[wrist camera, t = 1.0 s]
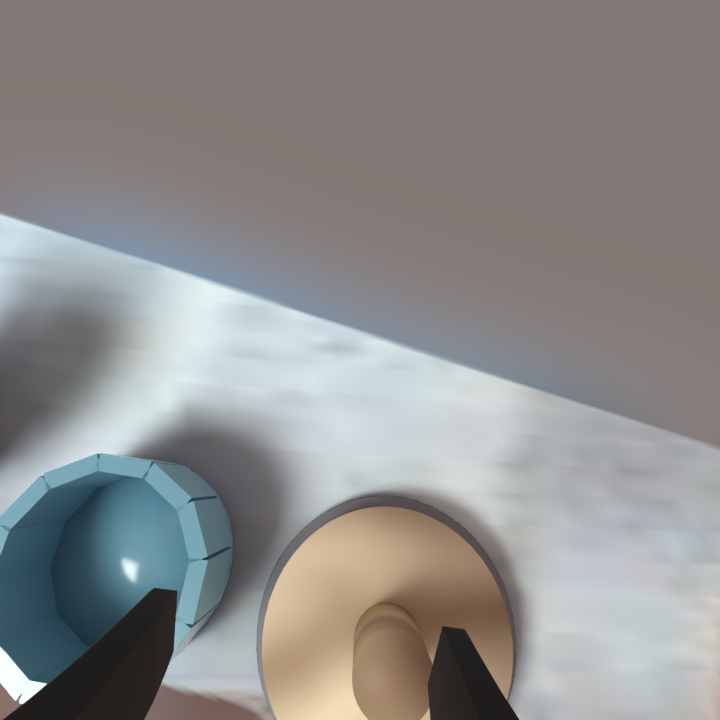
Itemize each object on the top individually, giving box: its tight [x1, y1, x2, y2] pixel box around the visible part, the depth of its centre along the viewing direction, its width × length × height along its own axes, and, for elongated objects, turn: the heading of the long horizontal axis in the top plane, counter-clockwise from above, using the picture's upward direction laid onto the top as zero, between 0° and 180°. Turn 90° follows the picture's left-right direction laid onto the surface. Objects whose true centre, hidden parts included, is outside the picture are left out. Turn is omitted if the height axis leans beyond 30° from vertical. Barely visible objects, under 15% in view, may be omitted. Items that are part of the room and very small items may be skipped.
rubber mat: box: [256, 496, 516, 720], centre depth 21 cm, size 13×13×1 cm
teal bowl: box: [0, 453, 234, 704], centre depth 20 cm, size 10×10×4 cm
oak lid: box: [262, 506, 513, 720], centre depth 18 cm, size 12×12×5 cm
